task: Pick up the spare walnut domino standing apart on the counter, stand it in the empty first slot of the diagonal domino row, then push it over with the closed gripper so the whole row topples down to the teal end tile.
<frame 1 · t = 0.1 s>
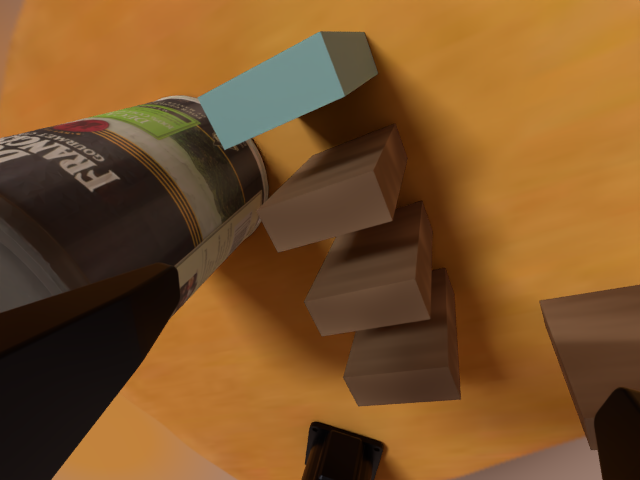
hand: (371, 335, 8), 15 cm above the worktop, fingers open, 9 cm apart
domino 4: (358, 157, 21), on the worktop
coffee can: (198, 177, 25), on the worktop
domino 5: (326, 74, 19), on the worktop
domino 1: (591, 306, 22), on the worktop
domino 3: (386, 227, 23), on the worktop
domino 2: (410, 288, 24), on the worktop
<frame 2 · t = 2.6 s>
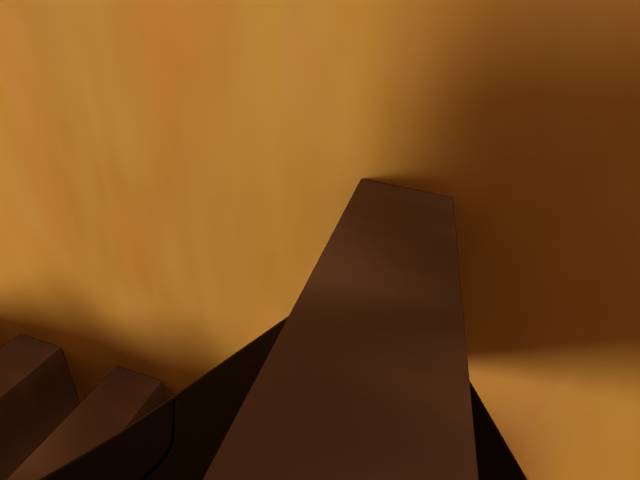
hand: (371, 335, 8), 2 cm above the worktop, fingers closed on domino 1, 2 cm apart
domino 4: (55, 381, 17), on the worktop
domino 1: (383, 279, 9), on the worktop, touching gripper
domino 3: (146, 413, 16), on the worktop
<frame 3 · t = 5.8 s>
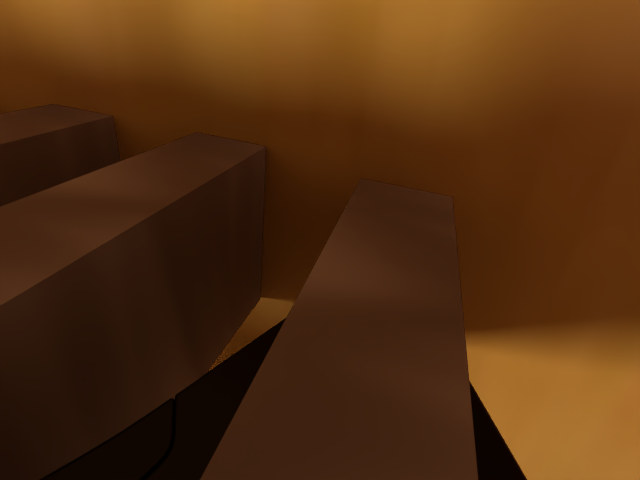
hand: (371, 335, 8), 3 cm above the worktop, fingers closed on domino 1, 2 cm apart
domino 1: (383, 279, 9), point 1 cm above the worktop, touching gripper
domino 3: (99, 191, 12), on the worktop
domino 2: (231, 223, 11), on the worktop, touching gripper
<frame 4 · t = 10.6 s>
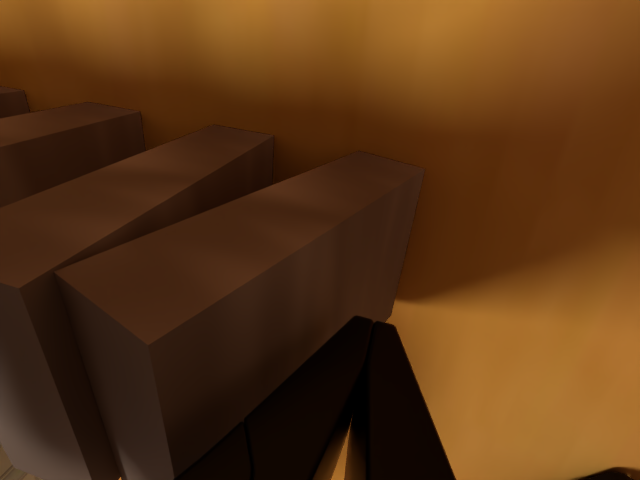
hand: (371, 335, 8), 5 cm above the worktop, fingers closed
domino 4: (21, 155, 14), on the worktop
coffee can: (48, 338, 20), on the worktop
domino 1: (376, 238, 11), on the worktop, tilted 19°, touching gripper
domino 3: (125, 178, 13), on the worktop
domino 2: (243, 204, 13), on the worktop
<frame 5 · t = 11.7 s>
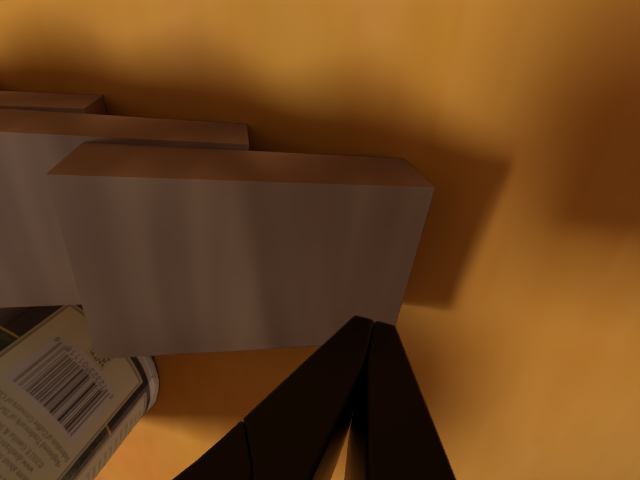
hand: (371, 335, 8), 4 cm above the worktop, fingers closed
coffee can: (77, 346, 20), on the worktop
domino 1: (396, 253, 11), point 1 cm above the worktop, tilted 64°, touching domino 2
domino 3: (111, 180, 12), point 1 cm above the worktop, tilted 62°, touching domino 2, domino 4
domino 2: (246, 214, 12), point 1 cm above the worktop, tilted 63°, touching domino 1, domino 3
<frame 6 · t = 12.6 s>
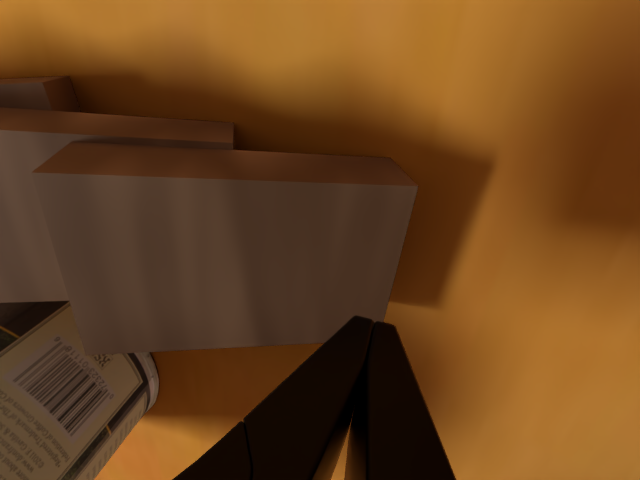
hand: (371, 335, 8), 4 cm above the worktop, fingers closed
coffee can: (77, 346, 20), on the worktop
domino 1: (384, 252, 11), point 1 cm above the worktop, tilted 65°, touching domino 2
domino 3: (84, 161, 12), point 1 cm above the worktop, tilted 62°, touching domino 4
domino 2: (233, 212, 12), point 1 cm above the worktop, tilted 64°, touching domino 1
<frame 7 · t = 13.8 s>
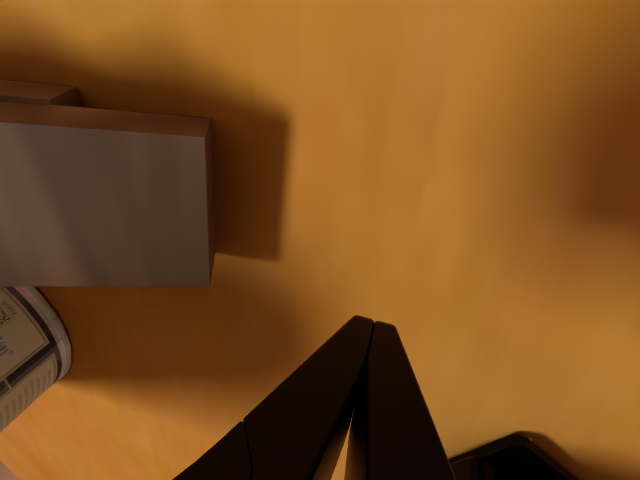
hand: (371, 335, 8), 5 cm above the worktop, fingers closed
domino 1: (210, 205, 12), point 1 cm above the worktop, tilted 66°, touching domino 2
domino 2: (81, 169, 13), point 1 cm above the worktop, tilted 66°, touching domino 1, domino 3
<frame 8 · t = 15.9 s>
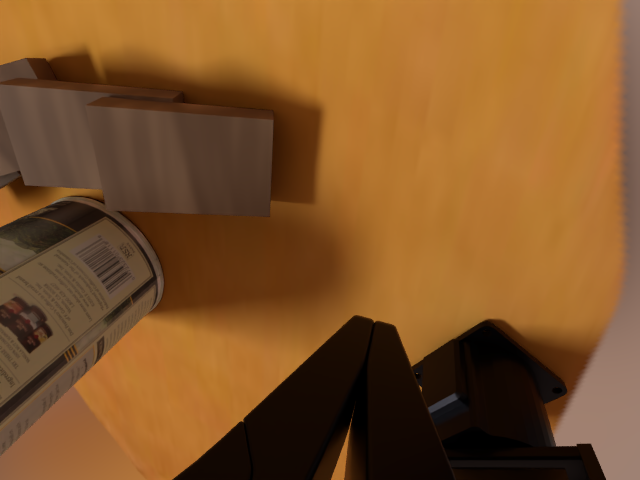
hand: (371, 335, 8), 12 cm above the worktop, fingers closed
coffee can: (106, 259, 28), on the worktop
domino 1: (271, 164, 19), point 1 cm above the worktop, tilted 68°, touching domino 2
domino 3: (62, 106, 21), point 1 cm above the worktop, tilted 65°, touching domino 4
domino 2: (182, 143, 20), point 1 cm above the worktop, tilted 70°, touching domino 1
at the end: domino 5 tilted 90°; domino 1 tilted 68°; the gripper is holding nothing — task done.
